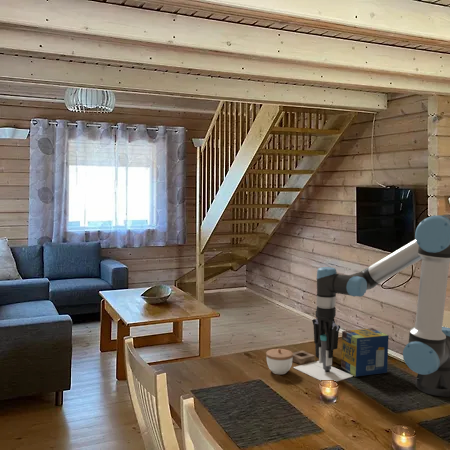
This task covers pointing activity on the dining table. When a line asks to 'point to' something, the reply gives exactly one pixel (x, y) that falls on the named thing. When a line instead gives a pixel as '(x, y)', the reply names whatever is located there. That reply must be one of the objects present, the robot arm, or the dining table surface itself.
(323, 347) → the marker
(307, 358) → the pen holder
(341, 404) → the dining table surface
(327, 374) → the paper
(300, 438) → the dining table surface
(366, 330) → the protein box
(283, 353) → the lidded jar
